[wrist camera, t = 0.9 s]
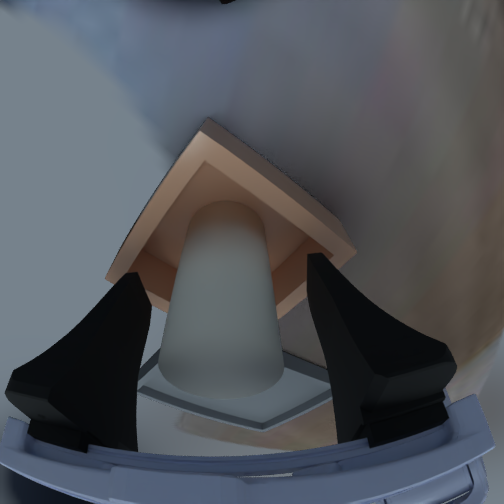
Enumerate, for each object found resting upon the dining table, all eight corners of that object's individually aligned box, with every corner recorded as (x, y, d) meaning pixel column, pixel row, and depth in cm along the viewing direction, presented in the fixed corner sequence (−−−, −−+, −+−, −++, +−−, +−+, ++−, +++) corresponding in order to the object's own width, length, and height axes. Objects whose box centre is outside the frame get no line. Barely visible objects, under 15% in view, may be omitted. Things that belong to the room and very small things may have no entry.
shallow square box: (339, 220, 16) (357, 252, 13) (240, 311, 19) (241, 348, 17) (207, 117, 12) (199, 130, 10) (121, 244, 16) (104, 278, 13)
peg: (280, 229, 15) (310, 363, 9) (233, 277, 17) (234, 407, 10) (217, 185, 14) (200, 313, 7) (173, 241, 15) (139, 373, 9)
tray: (345, 376, 25) (348, 390, 24) (262, 421, 30) (263, 432, 29) (197, 310, 19) (194, 327, 18) (131, 377, 24) (128, 390, 23)
